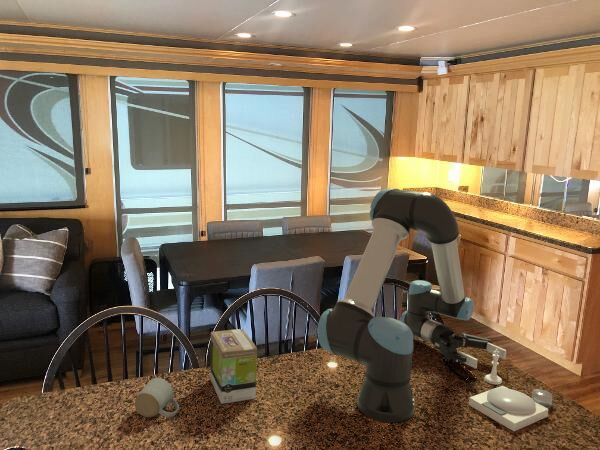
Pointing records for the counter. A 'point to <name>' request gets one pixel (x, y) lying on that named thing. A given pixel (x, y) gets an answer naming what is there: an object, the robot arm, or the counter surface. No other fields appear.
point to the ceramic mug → (155, 399)
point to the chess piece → (494, 370)
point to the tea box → (233, 365)
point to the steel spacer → (542, 397)
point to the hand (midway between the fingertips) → (491, 359)
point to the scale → (508, 407)
